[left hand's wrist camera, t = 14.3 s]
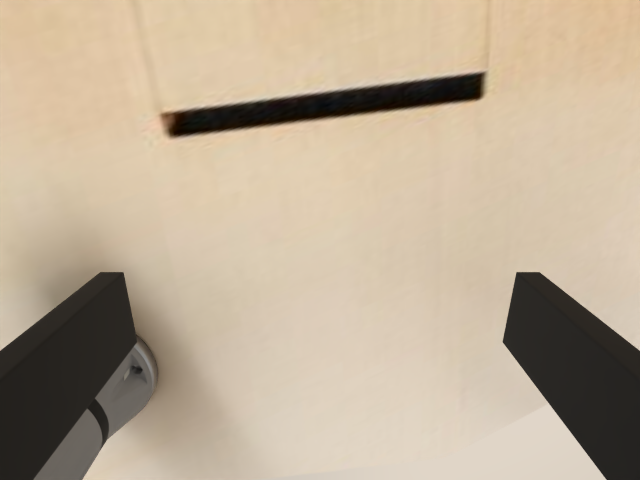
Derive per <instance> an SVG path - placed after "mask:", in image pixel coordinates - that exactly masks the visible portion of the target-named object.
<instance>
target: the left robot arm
mask: <svg viewBox="0 0 640 480" xmlns="http://www.w3.org/2000/svg"><path fill="white" fill-rule="evenodd" d="M503 343H504V344H505V346H506V347H507V348H508V350H509V351H510V352H511V354H512V355H513V356H514V358H515V359H516V360H517V362H518V363H519V364H520V366H521V367H522V368H523V370H524V371H525V372H526V374H527V375H528V376H529V378H530V379H531V380H532V381H533V383H534V384H535V385H536V387H537V388H538V389H539V391H540V392H541V393H542V395H543V396H544V397H545V399H546V400H547V401H548V403H549V404H550V405H551V407H552V408H553V409H554V411H555V412H556V413H557V415H558V416H559V417H560V419H561V420H562V421H563V423H564V424H565V425H566V426H567V428H568V429H569V430H570V432H571V433H572V434H573V436H574V437H575V438H576V440H577V441H578V442H579V444H580V445H581V446H582V448H583V449H584V450H585V452H586V453H587V454H588V456H589V457H590V458H591V460H592V461H593V462H594V464H595V465H596V466H597V468H598V469H599V470H600V471H601V473H602V474H603V476H604V477H605V478H606V479H607V480H640V351H639V350H638V349H637V348H635V347H634V346H633V345H632V344H630V343H629V342H628V341H626V340H625V339H624V338H623V337H621V336H620V335H619V334H617V333H616V332H615V331H614V330H612V329H611V328H610V327H609V326H607V325H606V324H605V323H603V322H602V321H601V320H600V319H598V318H597V317H596V316H595V315H593V314H592V313H591V312H589V311H588V310H587V309H586V308H584V307H583V306H582V305H581V304H579V303H578V302H577V301H575V300H574V299H573V298H572V297H570V296H569V295H568V294H567V293H565V292H564V291H563V290H561V289H560V288H559V287H558V286H556V285H555V284H554V283H552V282H551V281H550V280H549V279H547V278H546V277H545V276H544V275H542V274H541V273H540V272H517V273H516V278H515V283H514V288H513V293H512V298H511V303H510V308H509V313H508V318H507V323H506V328H505V333H504V338H503ZM157 379H158V370H157V365H156V362H155V359H154V357H153V355H152V353H151V351H150V349H149V348H148V347H147V345H146V344H145V343H144V342H143V341H142V340H141V339H140V338H139V337H138V336H137V335H136V333H135V328H134V323H133V318H132V313H131V308H130V303H129V298H128V293H127V288H126V283H125V278H124V273H123V272H100V273H99V274H98V275H96V276H95V277H94V278H93V279H91V280H90V281H89V282H88V283H86V284H85V285H84V286H82V287H81V288H80V289H79V290H77V291H76V292H75V293H73V294H72V295H71V296H70V297H68V298H67V299H66V300H65V301H63V302H62V303H61V304H59V305H58V306H57V307H56V308H54V309H53V310H52V311H51V312H49V313H48V314H47V315H45V316H44V317H43V318H42V319H40V320H39V321H38V322H37V323H35V324H34V325H33V326H31V327H30V328H29V329H28V330H26V331H25V332H24V333H23V334H21V335H20V336H19V337H17V338H16V339H15V340H14V341H12V342H11V343H10V344H8V345H7V346H6V347H5V348H3V349H2V350H1V351H0V480H82V479H83V477H84V476H85V474H86V473H87V471H88V469H89V468H90V466H91V465H92V463H93V461H94V460H95V458H96V457H97V455H98V453H99V451H100V450H101V448H102V447H103V445H104V443H105V442H106V440H107V439H108V438H109V437H111V436H112V435H113V434H114V433H115V432H117V431H118V430H119V429H120V428H121V427H122V426H124V425H125V424H126V423H127V422H128V421H130V420H131V419H132V418H133V417H134V416H135V415H137V414H138V413H139V412H140V411H141V410H142V409H143V408H144V407H145V405H146V404H147V402H148V401H149V399H150V397H151V395H152V394H153V392H154V390H155V388H156V384H157Z"/></svg>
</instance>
